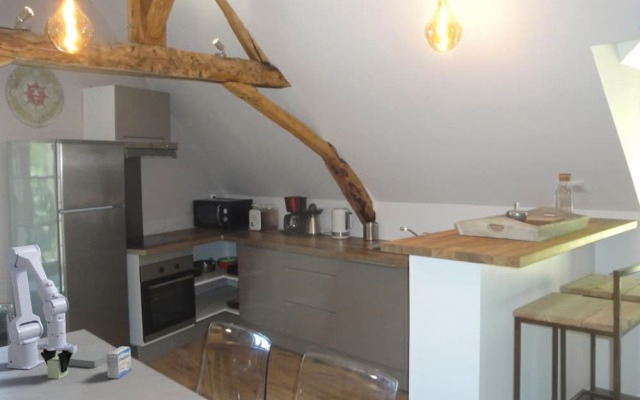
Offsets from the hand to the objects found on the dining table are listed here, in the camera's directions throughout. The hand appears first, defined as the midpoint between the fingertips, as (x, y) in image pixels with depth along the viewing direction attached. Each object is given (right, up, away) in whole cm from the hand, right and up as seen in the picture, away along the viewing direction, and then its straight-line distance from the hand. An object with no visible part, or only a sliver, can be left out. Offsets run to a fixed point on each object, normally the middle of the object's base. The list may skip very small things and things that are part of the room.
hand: (57, 370), depth 181 cm
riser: (+5, -1, +13) cm, 14 cm away
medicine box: (+21, -2, +2) cm, 21 cm away
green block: (0, -2, 0) cm, 2 cm away
